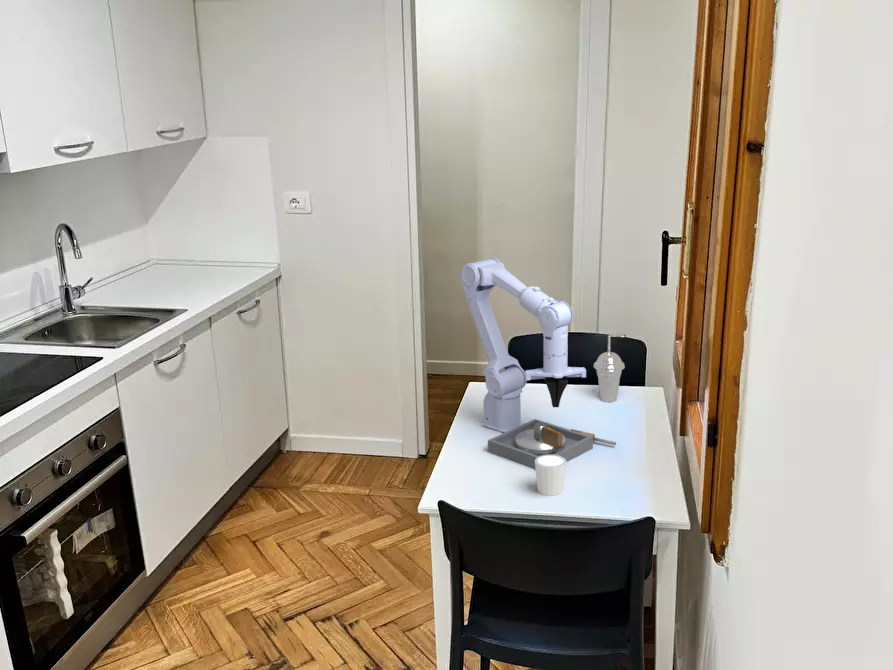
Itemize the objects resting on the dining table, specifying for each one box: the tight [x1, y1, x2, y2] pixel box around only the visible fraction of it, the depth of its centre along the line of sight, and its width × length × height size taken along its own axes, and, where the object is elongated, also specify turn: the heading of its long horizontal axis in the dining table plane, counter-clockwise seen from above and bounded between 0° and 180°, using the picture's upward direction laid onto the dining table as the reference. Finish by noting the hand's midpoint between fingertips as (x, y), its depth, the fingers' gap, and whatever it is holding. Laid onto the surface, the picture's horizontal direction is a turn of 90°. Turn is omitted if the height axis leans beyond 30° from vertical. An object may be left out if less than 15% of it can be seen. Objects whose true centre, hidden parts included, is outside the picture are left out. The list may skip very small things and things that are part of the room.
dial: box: [515, 422, 565, 455], centre depth 200 cm, size 14×12×5 cm
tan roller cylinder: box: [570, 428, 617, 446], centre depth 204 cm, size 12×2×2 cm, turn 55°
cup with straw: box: [593, 333, 626, 403], centre depth 230 cm, size 8×9×20 cm
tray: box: [487, 418, 594, 470], centre depth 201 cm, size 18×18×3 cm
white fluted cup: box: [535, 455, 567, 497], centre depth 180 cm, size 7×7×7 cm
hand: (555, 405), depth 203 cm, fingers closed
